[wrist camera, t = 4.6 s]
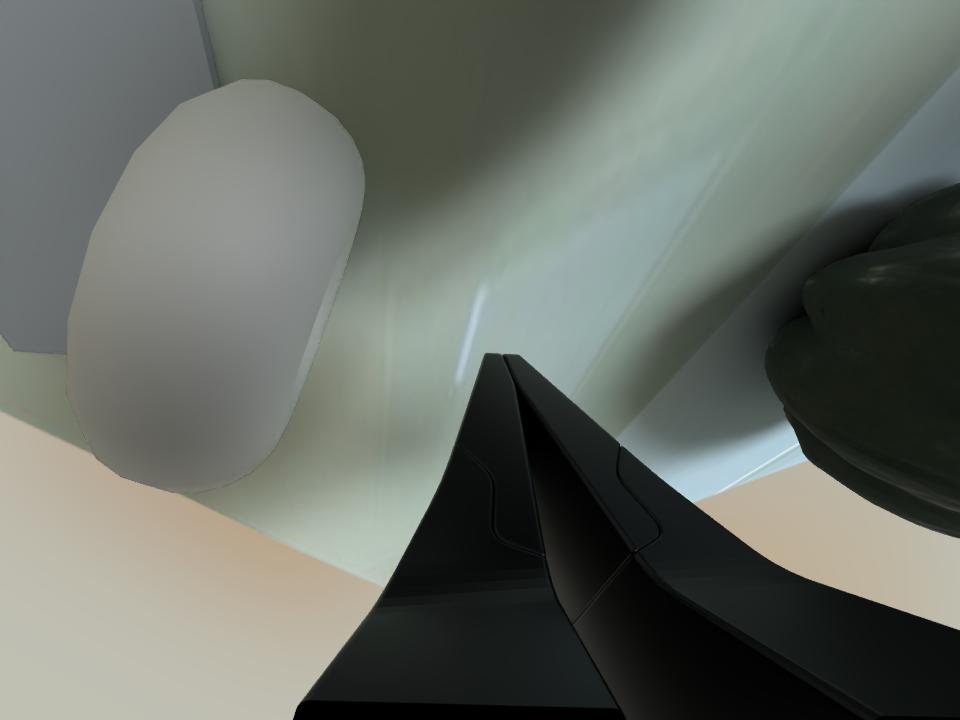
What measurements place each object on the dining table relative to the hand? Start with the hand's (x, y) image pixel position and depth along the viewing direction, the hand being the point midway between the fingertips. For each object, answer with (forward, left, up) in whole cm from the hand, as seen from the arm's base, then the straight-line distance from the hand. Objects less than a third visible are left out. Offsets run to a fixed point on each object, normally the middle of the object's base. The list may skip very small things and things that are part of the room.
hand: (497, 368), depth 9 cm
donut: (+6, 0, -8) cm, 10 cm away
